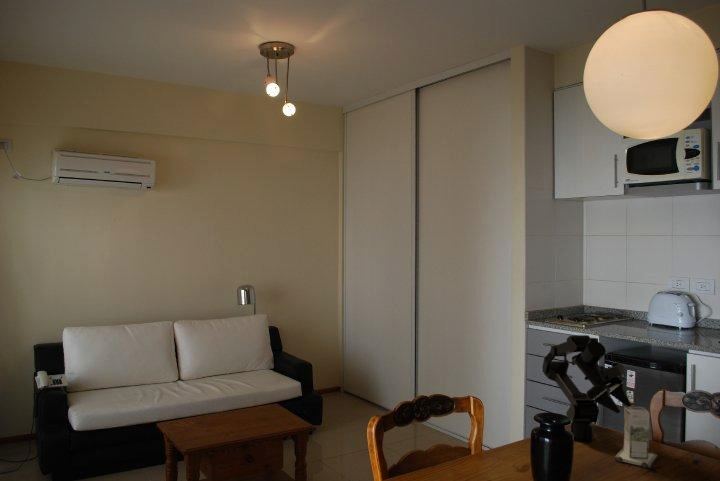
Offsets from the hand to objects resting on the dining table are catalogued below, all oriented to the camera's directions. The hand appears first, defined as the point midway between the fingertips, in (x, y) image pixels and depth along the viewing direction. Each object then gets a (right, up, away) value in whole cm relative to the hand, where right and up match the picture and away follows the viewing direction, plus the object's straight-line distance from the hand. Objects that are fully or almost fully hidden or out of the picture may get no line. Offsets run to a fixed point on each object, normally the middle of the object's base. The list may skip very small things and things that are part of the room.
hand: (624, 409), depth 188 cm
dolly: (+1, -14, -6) cm, 15 cm away
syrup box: (+1, -13, -6) cm, 14 cm away
